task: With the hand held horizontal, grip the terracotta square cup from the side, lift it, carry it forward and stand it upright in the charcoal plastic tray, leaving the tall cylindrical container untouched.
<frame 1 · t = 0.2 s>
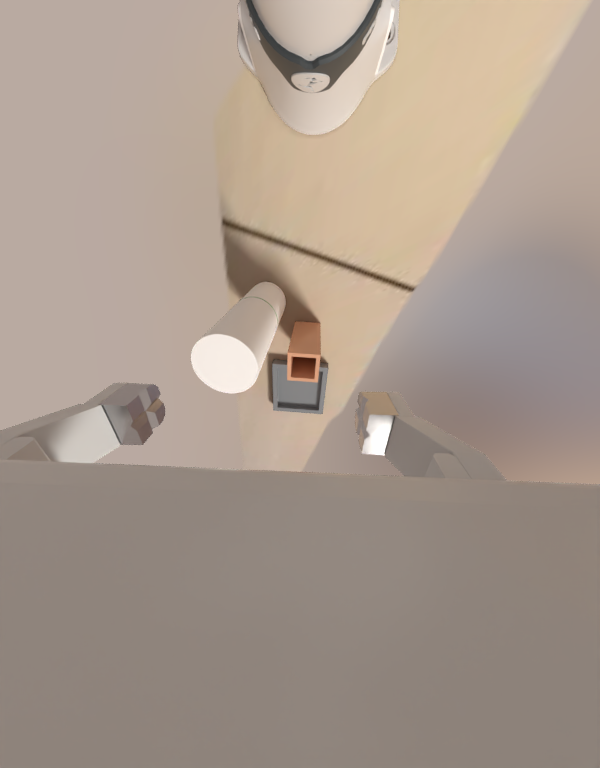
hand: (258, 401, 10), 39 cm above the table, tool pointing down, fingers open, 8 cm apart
tray: (299, 385, 56), on the table
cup: (307, 333, 49), on the table
cylindrical container: (267, 301, 46), on the table
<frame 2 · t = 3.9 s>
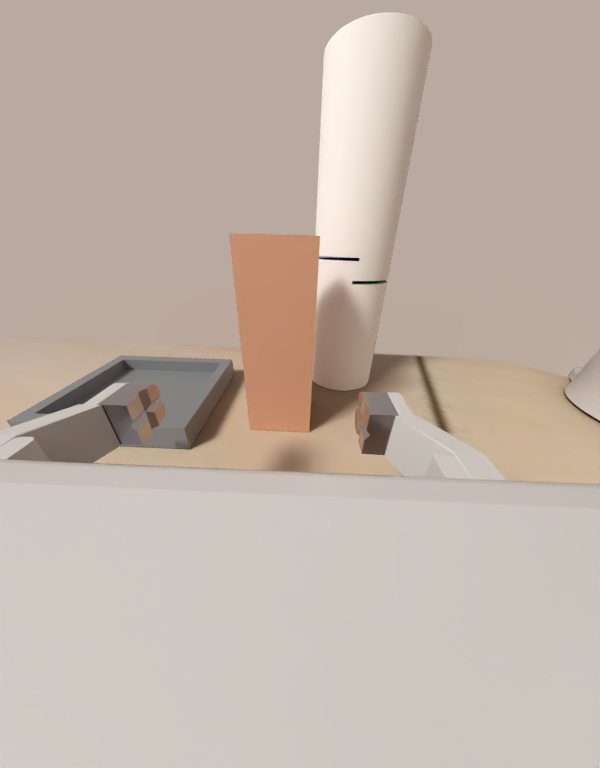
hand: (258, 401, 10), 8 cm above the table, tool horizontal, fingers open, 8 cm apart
tray: (151, 401, 23), on the table
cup: (282, 413, 22), on the table
cylindrical container: (338, 376, 29), on the table
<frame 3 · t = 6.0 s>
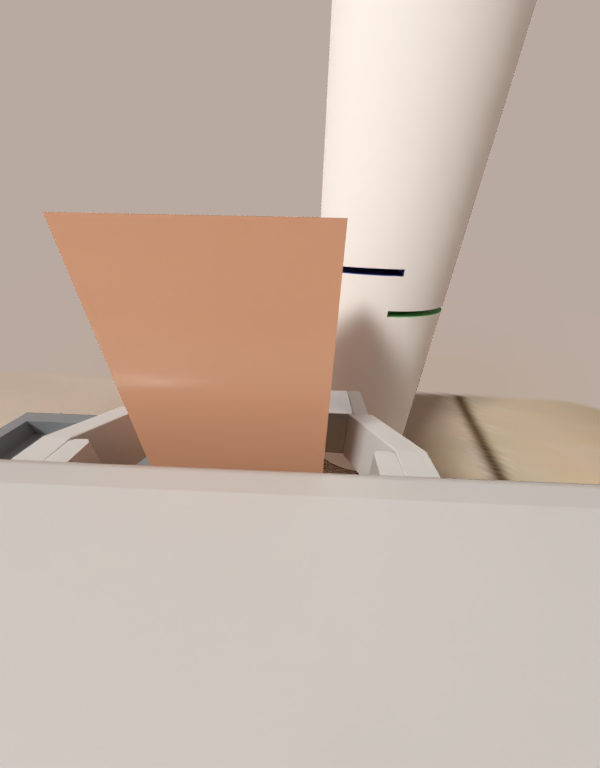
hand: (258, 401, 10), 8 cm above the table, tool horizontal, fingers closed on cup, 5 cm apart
tray: (49, 504, 14), on the table
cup: (264, 532, 13), on the table, touching gripper
cylindrical container: (352, 437, 20), on the table
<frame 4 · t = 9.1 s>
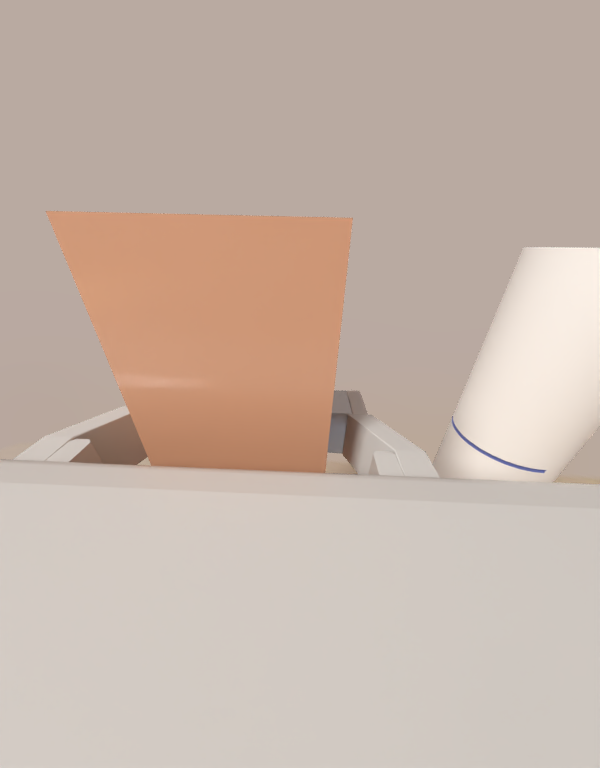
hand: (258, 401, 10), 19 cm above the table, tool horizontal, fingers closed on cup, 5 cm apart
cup: (265, 533, 13), point 11 cm above the table, touching gripper
cylindrical container: (450, 526, 25), on the table
when the fingers open (10 cm above the table, at t = 11.9 s): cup drops 1 cm, resting on tray.
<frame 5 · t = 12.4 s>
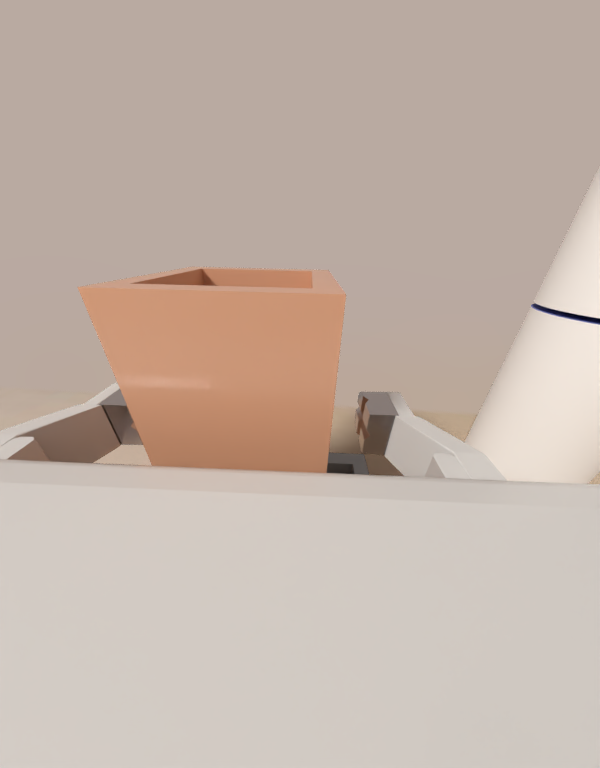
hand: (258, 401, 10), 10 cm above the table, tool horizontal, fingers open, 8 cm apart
tray: (267, 551, 14), on the table
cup: (267, 544, 14), point 1 cm above the table, touching tray
cylindrical container: (509, 470, 20), on the table
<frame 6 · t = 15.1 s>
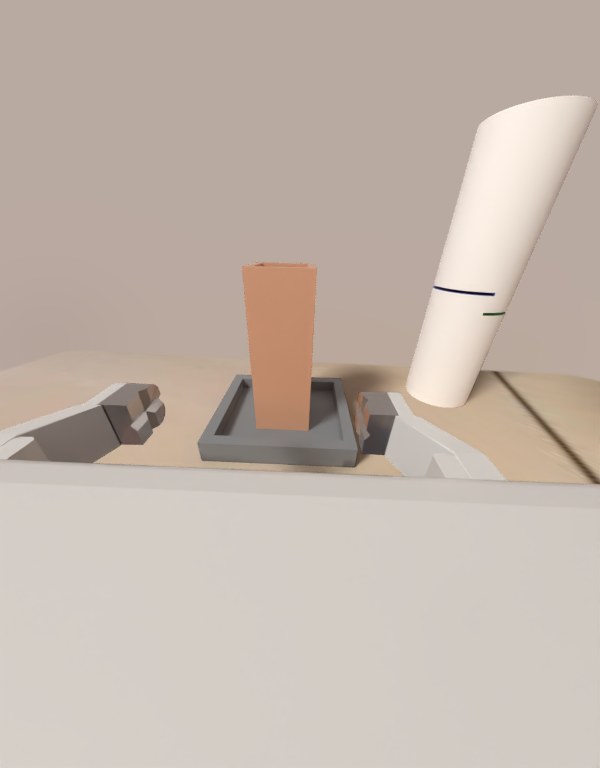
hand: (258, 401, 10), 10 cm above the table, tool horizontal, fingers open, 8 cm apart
tray: (284, 419, 26), on the table
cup: (284, 413, 25), point 1 cm above the table, touching tray
cylindrical container: (434, 393, 31), on the table
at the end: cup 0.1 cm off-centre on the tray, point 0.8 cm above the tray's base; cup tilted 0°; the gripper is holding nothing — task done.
